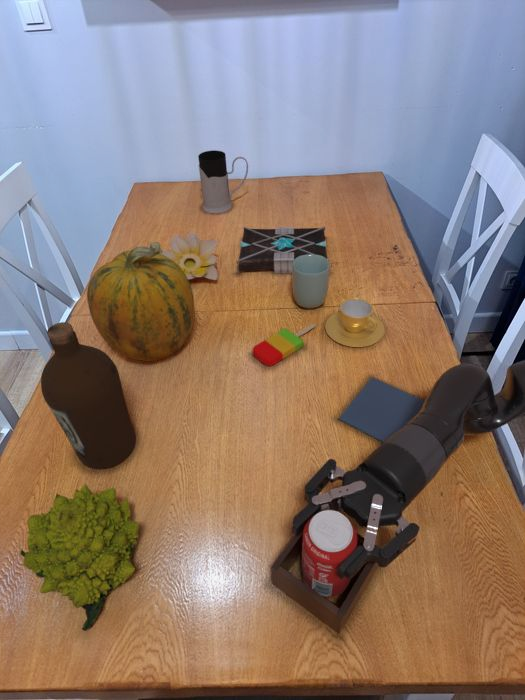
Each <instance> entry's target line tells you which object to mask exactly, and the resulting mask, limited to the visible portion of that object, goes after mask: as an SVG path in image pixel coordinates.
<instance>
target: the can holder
mask: <svg viewBox="0 0 525 700" xmlns="http://www.w3.org/2000/svg"><path fill="white" fill-rule="evenodd" d="M356 533H357V532H356ZM364 538H365V536H363V535H361V534H359V533H357V547H358V546H359V545H360V546H361V547H362V545H363V543H364ZM302 541H303V532H302V533H301V534H300V535H299V536H297V537H296V536H295V535H294V534H293V536H292V538H291V539H290V540H289V541H288V543H287V544H286V546H284V548H283V549H282V551H281V553H280V554H279V555H278V557H277V558H276V560H275V561H274V562H273V563H272V565H271V566H270V569H271V570H270V571H271V573H270V574H271V584H272V585H273V586H274V587H275V588H277V589H278V590H279V591H281V592H282V593H284V594H285V595H286V596H288V597H289V598H290V599H291V600H293V601H294V602H296V604H298V605H299V606H300V607H302V608H303V609H305V611H307V612H309V613H310V614H312V615H313V616H314V617H316V618H317V619H318V620H320V621H321V622H322V623H323V624H325V625H326V626H328V627H329V628H330V629H332V631H334V632H335V633H337V635H340V634H341V632H342V631H343V629H344V627H345V625H346V624H347V623H348V620H349V619H350V617H351V616H352V613H353V612H354V610H355V609H356V606H357V605H358V603H359V602H360V599H361V598H362V596H363V595H364V592H365V591H366V590H367V587H368V586H369V584H370V582H371V580H372V579H373V577H374V575H375V574H376V572H377V570H378V568H379V567H380V566H379V565H378V563H376V562H374V561H368V562H366V563H365V564H364V565H363V568H362V571H361V573H360V574H359V576H358V577H357V579H356V580H355V582H354V584H353V585H352V587H351V589H350V591H349V592H348V594H347V596H346V597H345V599H344V601H343V602H342V604H341V606H340V607H338V606H337V605H336V604H334V603H332V602H331V601H330V600H329V599H327V598H326V597H323V596H321V595H320V594H319V593H317V592H316V591H314V590H313V589H312V588H310V587H309V586H308V585H306V584H305V583H304V581H303V580H301V579H300V578H298V577H296V575H294V574H292V573H291V572H290V570H291V568H292V567H293V566H294V564H295V562H296V561H297V560H298V558H299V557H300V556H301V555H302ZM375 545H376V546H378V545H377V544H375Z"/></svg>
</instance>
